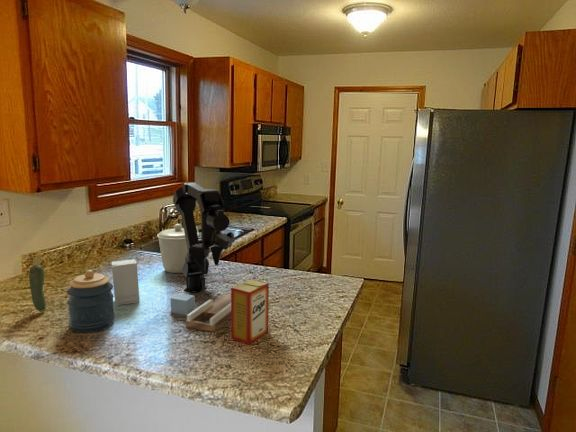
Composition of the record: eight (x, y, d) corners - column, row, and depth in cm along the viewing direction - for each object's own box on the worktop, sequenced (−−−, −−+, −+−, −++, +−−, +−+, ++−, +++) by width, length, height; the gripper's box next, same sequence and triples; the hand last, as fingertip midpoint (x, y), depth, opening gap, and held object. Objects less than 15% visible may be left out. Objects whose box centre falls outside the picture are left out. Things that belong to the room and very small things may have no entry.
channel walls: (187, 320, 130) (186, 314, 129) (209, 304, 143) (209, 299, 142) (212, 325, 127) (212, 319, 126) (233, 308, 140) (233, 303, 139)
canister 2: (149, 271, 185) (147, 224, 181) (181, 261, 199) (180, 218, 196) (177, 279, 175) (175, 229, 171) (208, 268, 189) (207, 223, 186)
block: (186, 315, 137) (186, 300, 136) (171, 312, 139) (170, 298, 138) (194, 309, 142) (194, 295, 141) (179, 307, 144) (179, 293, 143)
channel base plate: (185, 326, 130) (185, 320, 130) (223, 299, 153) (223, 293, 153) (214, 332, 127) (214, 325, 127) (248, 302, 150) (248, 297, 150)
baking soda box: (248, 344, 120) (249, 291, 117) (231, 338, 123) (231, 286, 120) (268, 332, 127) (268, 282, 125) (251, 326, 131) (251, 278, 128)
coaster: (165, 315, 138) (165, 313, 138) (179, 306, 146) (179, 305, 146) (186, 319, 136) (186, 317, 136) (199, 310, 143) (199, 308, 143)
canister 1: (85, 337, 122) (81, 279, 119) (60, 326, 129) (56, 271, 126) (123, 322, 133) (120, 268, 130) (98, 312, 140) (95, 261, 137)
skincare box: (137, 297, 154) (136, 258, 151) (139, 302, 149) (138, 262, 146) (113, 300, 150) (111, 260, 148) (114, 306, 145) (112, 265, 142)
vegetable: (32, 315, 136) (26, 256, 133) (32, 310, 140) (27, 253, 136) (47, 313, 138) (42, 254, 135) (48, 308, 142) (43, 251, 139)
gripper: (216, 233, 134) (217, 279, 137) (242, 222, 152) (242, 264, 154) (186, 230, 138) (187, 275, 141) (215, 220, 155) (215, 260, 158)
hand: (210, 268), depth 148 cm, fingers open, 9 cm apart
